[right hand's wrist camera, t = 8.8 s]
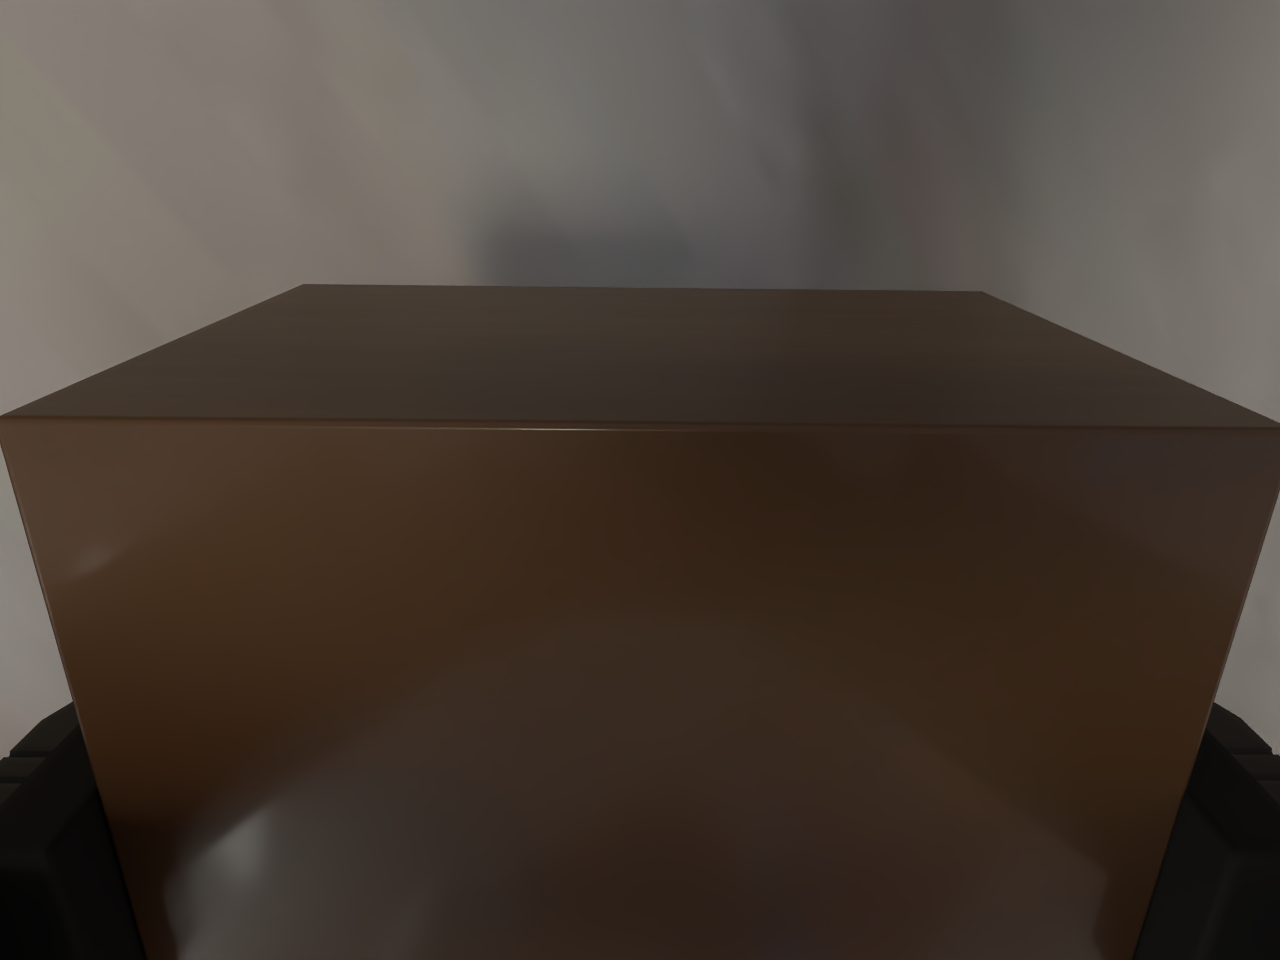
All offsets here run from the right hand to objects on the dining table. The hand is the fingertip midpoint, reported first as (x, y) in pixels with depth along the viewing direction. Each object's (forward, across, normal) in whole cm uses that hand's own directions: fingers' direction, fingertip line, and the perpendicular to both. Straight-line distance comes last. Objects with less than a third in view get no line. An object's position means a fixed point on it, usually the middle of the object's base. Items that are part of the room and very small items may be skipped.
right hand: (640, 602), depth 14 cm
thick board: (+1, 0, -21) cm, 21 cm away
